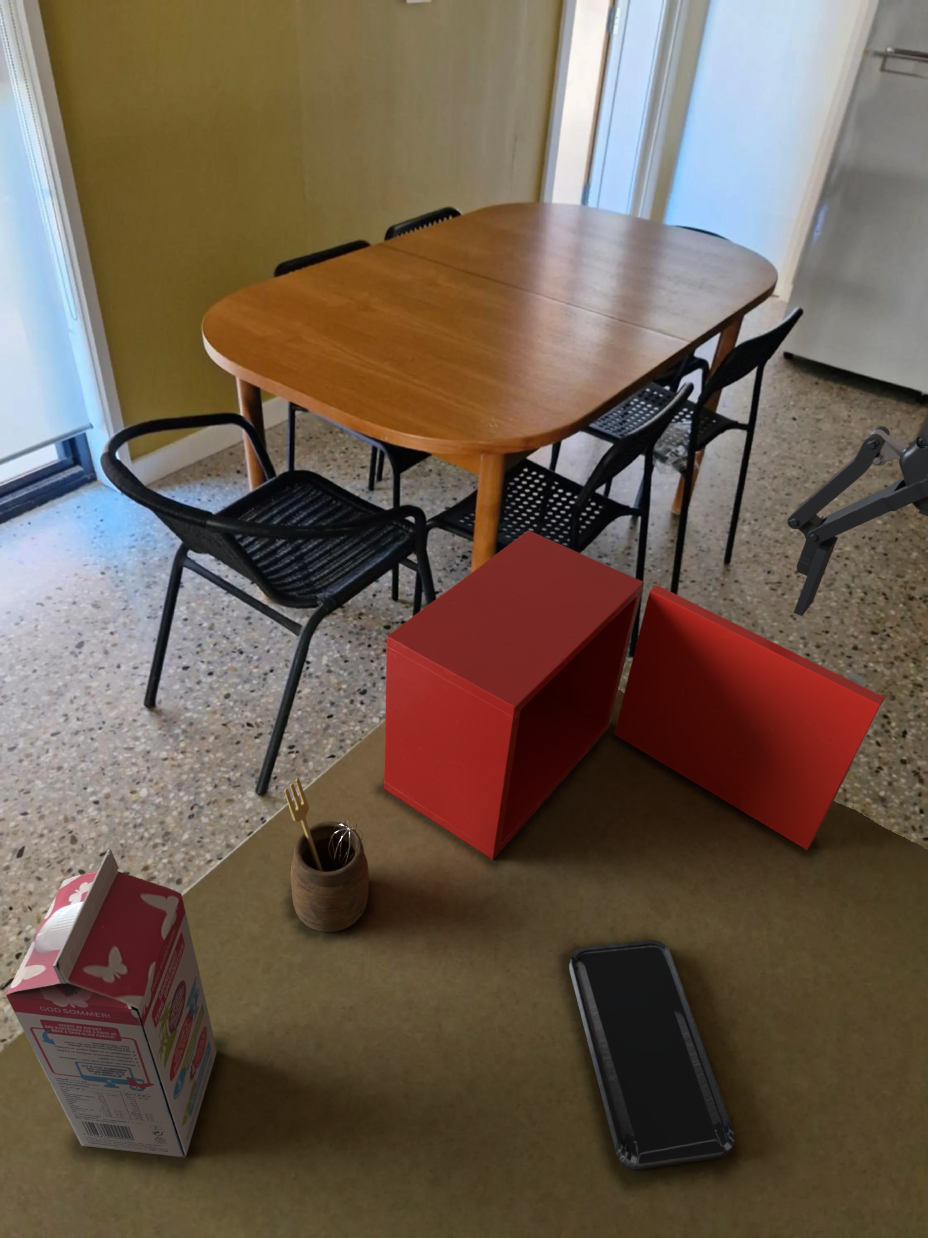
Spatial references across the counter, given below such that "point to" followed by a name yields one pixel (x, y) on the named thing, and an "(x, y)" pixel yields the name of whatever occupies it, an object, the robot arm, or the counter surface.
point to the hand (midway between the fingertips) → (884, 641)
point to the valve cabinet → (505, 687)
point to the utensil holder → (327, 871)
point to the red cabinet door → (743, 715)
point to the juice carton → (118, 1012)
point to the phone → (648, 1057)
